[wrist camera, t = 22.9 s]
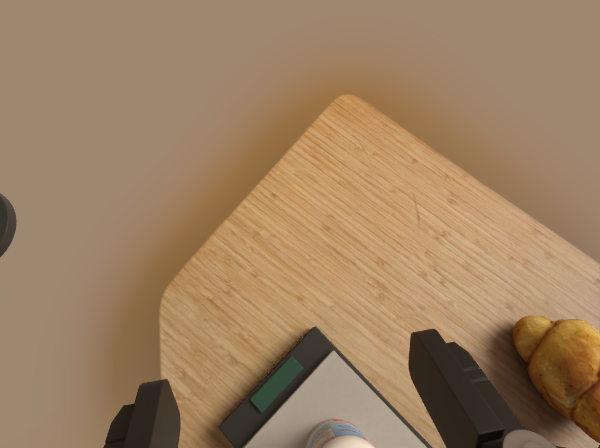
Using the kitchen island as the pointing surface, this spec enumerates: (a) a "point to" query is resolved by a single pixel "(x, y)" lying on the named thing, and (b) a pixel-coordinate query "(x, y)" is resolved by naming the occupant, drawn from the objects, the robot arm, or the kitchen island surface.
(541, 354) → the bread roll
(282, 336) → the kitchen island surface
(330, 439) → the pill bottle
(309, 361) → the scale
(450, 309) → the kitchen island surface
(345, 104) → the kitchen island surface
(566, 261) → the kitchen island surface
